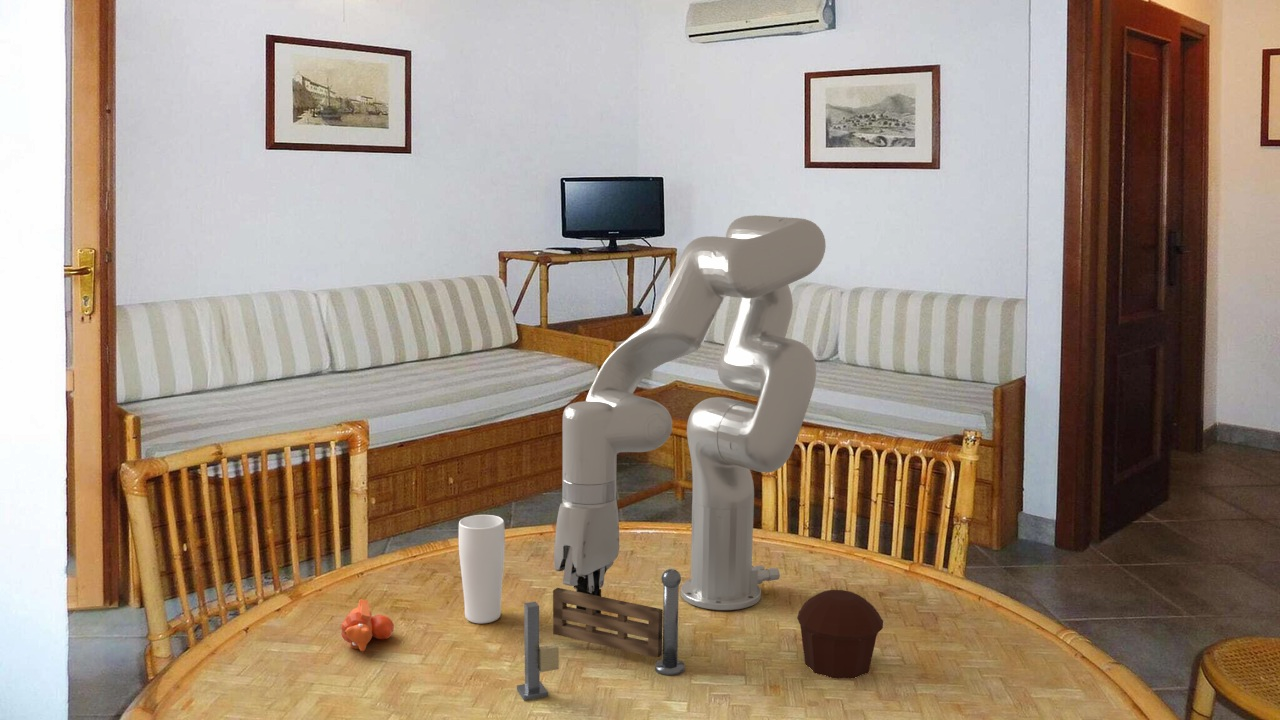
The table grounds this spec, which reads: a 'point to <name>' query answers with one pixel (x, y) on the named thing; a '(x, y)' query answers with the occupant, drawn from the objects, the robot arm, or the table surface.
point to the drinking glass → (482, 566)
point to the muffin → (839, 633)
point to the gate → (608, 622)
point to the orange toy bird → (365, 626)
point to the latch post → (536, 656)
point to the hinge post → (670, 626)
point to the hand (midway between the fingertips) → (588, 614)
